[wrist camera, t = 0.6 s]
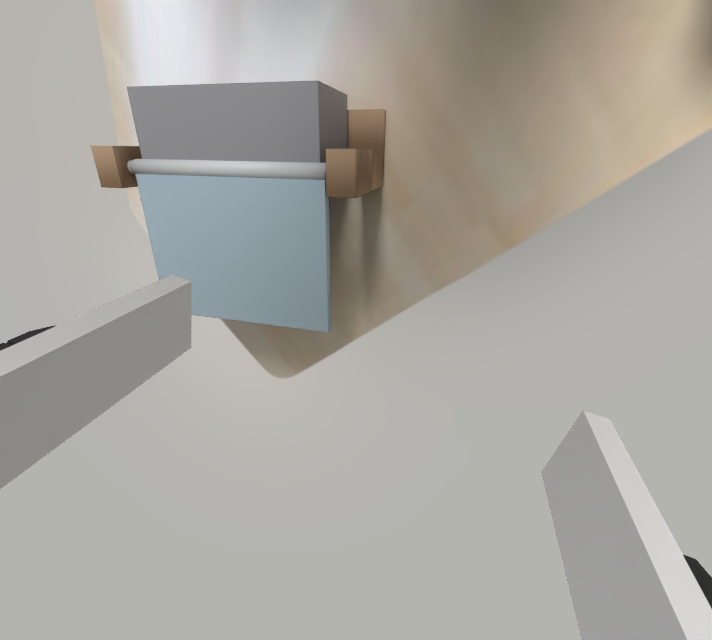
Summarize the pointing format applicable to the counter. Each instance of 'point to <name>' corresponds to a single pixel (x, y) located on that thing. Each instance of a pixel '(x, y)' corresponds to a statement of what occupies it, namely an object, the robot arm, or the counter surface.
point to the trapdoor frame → (343, 166)
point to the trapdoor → (241, 194)
